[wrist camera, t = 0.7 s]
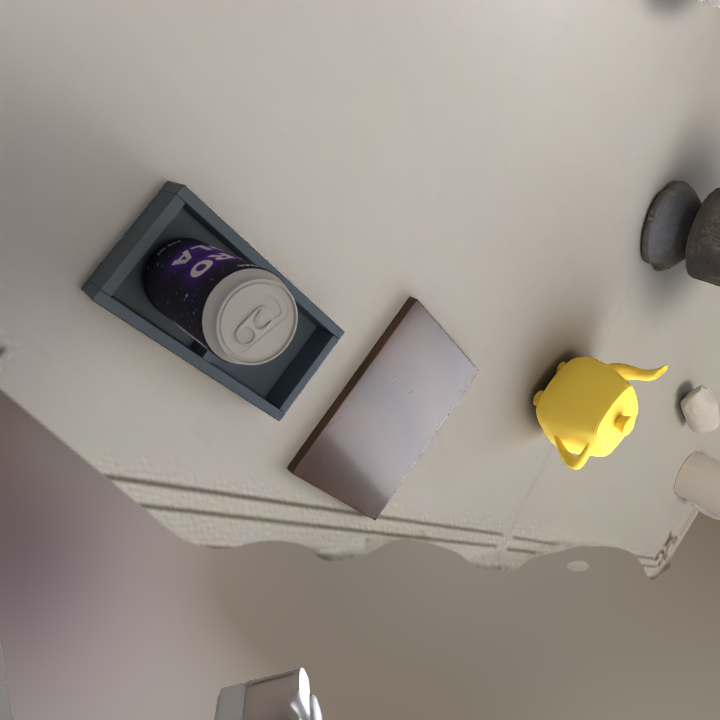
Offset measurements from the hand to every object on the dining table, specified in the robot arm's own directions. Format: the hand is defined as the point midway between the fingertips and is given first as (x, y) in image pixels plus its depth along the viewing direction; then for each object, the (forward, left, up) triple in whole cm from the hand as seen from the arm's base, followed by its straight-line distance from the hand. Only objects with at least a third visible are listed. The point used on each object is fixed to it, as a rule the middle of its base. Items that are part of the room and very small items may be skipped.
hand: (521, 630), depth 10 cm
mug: (+35, -119, -35) cm, 129 cm away
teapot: (+22, -56, -35) cm, 69 cm away
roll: (+42, -95, -35) cm, 110 cm away
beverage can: (+3, -5, -34) cm, 35 cm away
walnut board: (+5, -31, -34) cm, 47 cm away
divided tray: (+3, -9, -34) cm, 36 cm away
